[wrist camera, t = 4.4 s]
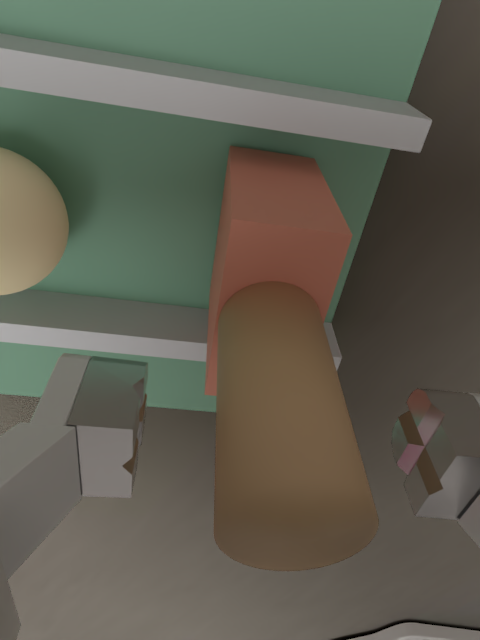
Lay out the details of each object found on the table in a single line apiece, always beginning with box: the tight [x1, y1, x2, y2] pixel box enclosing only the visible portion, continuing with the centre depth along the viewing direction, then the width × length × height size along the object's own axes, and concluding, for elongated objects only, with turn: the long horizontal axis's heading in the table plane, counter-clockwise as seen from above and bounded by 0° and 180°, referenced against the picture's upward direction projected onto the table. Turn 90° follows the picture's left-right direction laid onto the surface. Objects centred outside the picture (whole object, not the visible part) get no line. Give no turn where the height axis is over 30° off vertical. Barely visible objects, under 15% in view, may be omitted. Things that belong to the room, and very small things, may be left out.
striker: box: [205, 146, 379, 571], centre depth 11 cm, size 2×5×10 cm, turn 171°
